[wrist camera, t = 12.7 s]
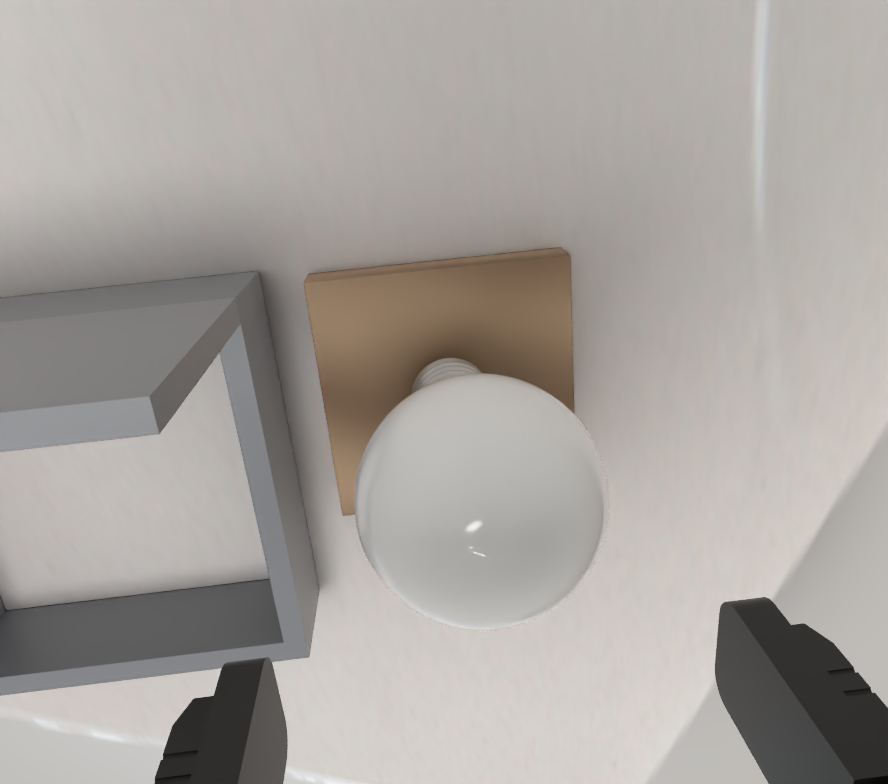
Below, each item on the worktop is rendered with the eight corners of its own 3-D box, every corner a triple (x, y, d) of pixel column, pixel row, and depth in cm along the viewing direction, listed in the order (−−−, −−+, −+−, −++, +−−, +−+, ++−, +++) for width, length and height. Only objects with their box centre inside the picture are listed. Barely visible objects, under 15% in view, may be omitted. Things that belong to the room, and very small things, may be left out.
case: (-138, 312, 24) (-595, 478, 13) (258, 270, 24) (149, 396, 13) (-8, 629, 29) (-257, 946, 18) (319, 589, 29) (276, 874, 18)
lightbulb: (386, 277, 23) (401, 404, 13) (561, 328, 25) (697, 480, 14) (338, 443, 25) (317, 665, 15) (501, 483, 27) (583, 711, 16)
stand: (308, 274, 25) (303, 283, 23) (560, 247, 25) (570, 255, 24) (345, 496, 28) (342, 515, 27) (567, 470, 28) (576, 488, 27)
